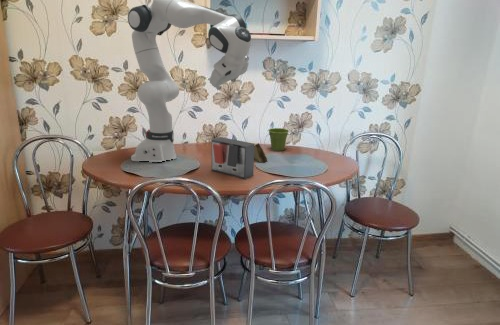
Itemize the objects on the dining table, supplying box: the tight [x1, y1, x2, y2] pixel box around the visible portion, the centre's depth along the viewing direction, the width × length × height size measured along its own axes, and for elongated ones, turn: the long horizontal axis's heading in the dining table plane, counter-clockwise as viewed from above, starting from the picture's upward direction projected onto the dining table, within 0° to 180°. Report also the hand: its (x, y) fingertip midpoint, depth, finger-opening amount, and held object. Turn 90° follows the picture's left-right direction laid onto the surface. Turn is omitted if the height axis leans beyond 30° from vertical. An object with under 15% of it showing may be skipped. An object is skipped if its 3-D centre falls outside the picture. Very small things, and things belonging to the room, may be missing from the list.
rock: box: [254, 142, 269, 163], centre depth 184 cm, size 11×9×10 cm
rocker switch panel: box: [211, 136, 255, 180], centre depth 161 cm, size 7×19×15 cm, turn 57°
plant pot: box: [267, 127, 290, 152], centre depth 203 cm, size 12×12×11 cm
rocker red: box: [213, 144, 224, 164], centre depth 159 cm, size 2×4×9 cm, turn 56°
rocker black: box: [227, 145, 239, 167], centre depth 155 cm, size 2×4×9 cm, turn 56°
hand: (225, 84), depth 163 cm, fingers open, 8 cm apart
